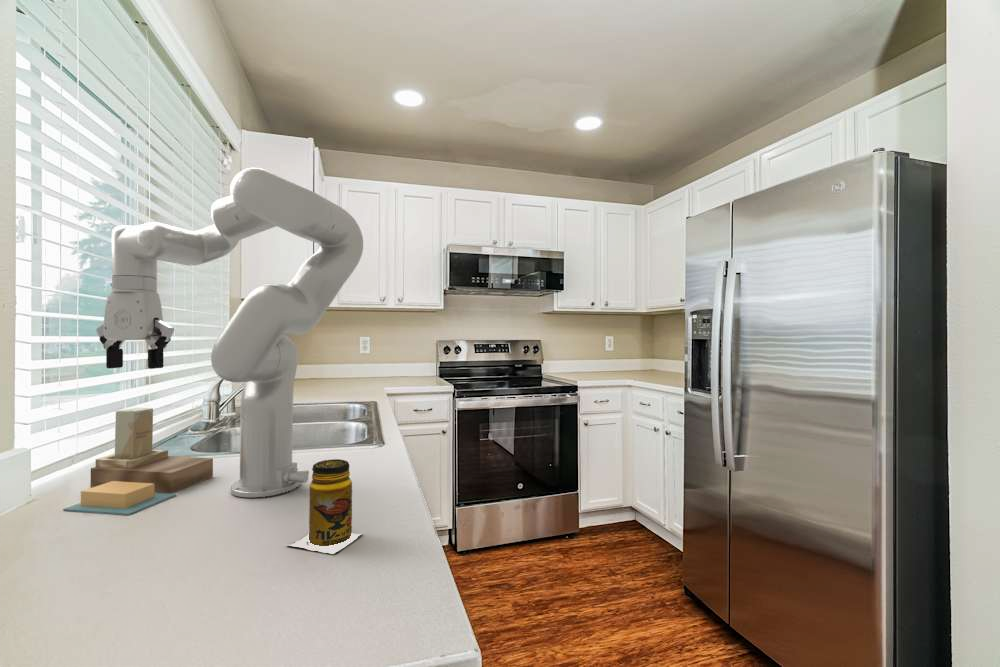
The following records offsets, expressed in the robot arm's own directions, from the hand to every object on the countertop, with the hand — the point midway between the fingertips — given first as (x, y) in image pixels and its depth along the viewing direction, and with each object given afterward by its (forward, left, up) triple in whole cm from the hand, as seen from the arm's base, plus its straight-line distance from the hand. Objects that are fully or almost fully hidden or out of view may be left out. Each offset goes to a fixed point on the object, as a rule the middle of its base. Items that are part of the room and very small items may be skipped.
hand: (135, 368), depth 100 cm
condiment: (-54, +21, -24) cm, 62 cm away
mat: (-9, +12, -24) cm, 28 cm away
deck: (-5, 0, -24) cm, 24 cm away
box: (0, 0, -20) cm, 20 cm away
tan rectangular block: (-8, +12, -21) cm, 25 cm away
